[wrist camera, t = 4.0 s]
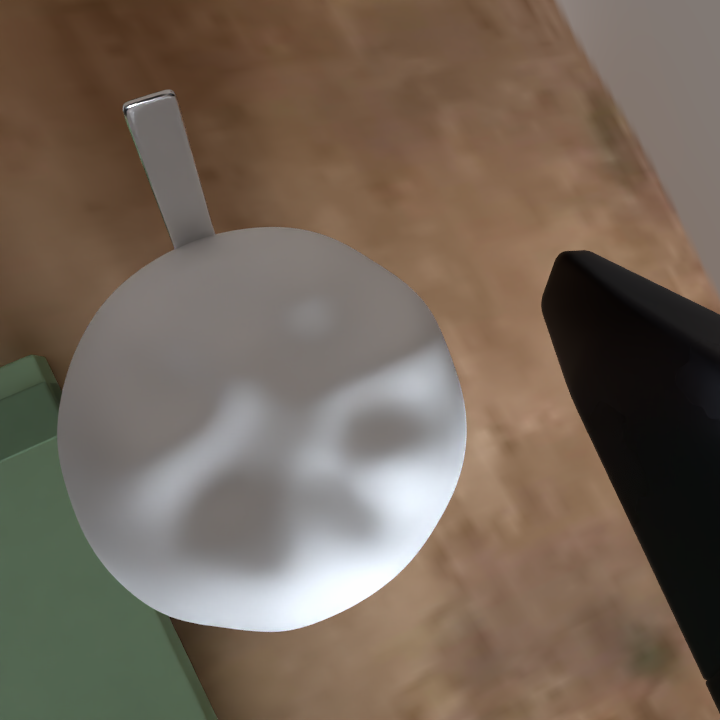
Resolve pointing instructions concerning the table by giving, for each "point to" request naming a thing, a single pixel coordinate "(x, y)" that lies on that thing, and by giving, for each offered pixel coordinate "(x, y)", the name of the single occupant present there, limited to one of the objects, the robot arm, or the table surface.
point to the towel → (71, 590)
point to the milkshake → (255, 414)
